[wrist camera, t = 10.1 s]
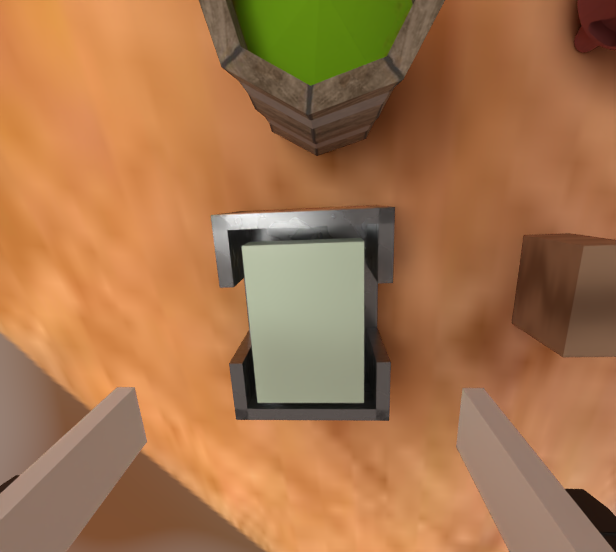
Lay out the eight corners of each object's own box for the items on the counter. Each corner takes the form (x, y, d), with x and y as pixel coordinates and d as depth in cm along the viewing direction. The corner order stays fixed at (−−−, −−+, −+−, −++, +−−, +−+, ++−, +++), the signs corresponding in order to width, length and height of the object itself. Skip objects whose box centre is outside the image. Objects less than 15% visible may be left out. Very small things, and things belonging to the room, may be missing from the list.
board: (249, 241, 21) (241, 246, 19) (360, 237, 21) (364, 241, 19) (263, 386, 24) (257, 402, 22) (360, 386, 24) (363, 403, 22)
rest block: (523, 235, 25) (583, 246, 19) (569, 233, 25) (643, 244, 19) (511, 323, 27) (563, 357, 21) (553, 322, 27) (616, 356, 21)
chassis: (238, 211, 26) (210, 215, 20) (377, 205, 25) (394, 207, 19) (255, 373, 30) (236, 419, 24) (375, 372, 29) (389, 420, 23)
